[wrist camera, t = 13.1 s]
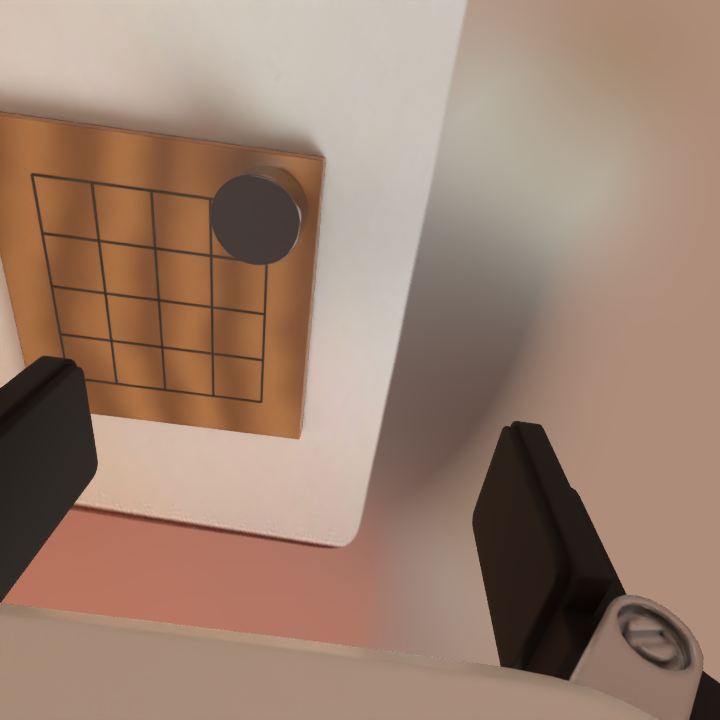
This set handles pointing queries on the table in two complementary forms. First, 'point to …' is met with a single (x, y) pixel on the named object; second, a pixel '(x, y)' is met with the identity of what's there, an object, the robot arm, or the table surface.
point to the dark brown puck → (259, 215)
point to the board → (154, 275)
